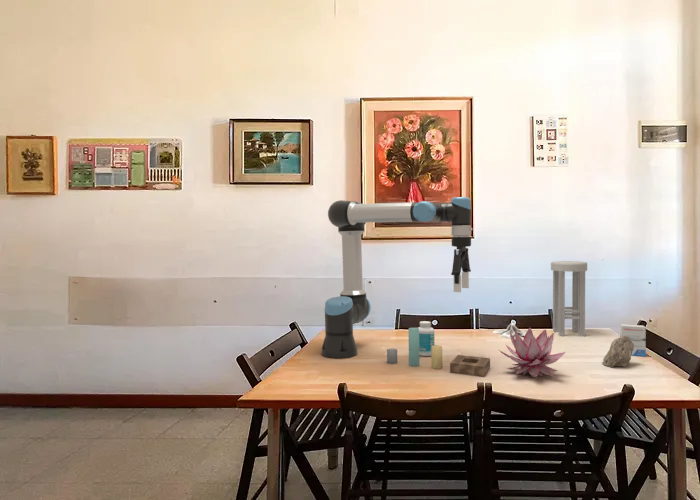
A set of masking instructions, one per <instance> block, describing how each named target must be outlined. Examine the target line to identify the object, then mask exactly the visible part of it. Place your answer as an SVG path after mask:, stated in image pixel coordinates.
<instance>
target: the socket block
mask: <svg viewBox="0 0 700 500" xmlns="http://www.w3.org/2000/svg"><path fill="white" fill-rule="evenodd" d="M490 369H491V358H490V357H484V356H483V357H482V356H481V357H480V356H473V355H463V354H458V355H456V356H455V357H454V359H452V360H451V361H450V363H449V373H451V374H459V375H465V376H466V375H467V376H476V377H482V378H484V377H486V374H487V373H488V371H490Z"/></svg>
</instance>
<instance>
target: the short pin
mask: <svg viewBox="0 0 700 500" xmlns="http://www.w3.org/2000/svg"><path fill="white" fill-rule="evenodd" d="M386 363H387V364H388V365H389V364H390V365H394V364H398V349H397V348H387V349H386Z"/></svg>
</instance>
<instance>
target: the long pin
mask: <svg viewBox="0 0 700 500" xmlns="http://www.w3.org/2000/svg"><path fill="white" fill-rule="evenodd" d="M408 366H409V367H419V366H420V355H419V328H418V327H409V328H408Z"/></svg>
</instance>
